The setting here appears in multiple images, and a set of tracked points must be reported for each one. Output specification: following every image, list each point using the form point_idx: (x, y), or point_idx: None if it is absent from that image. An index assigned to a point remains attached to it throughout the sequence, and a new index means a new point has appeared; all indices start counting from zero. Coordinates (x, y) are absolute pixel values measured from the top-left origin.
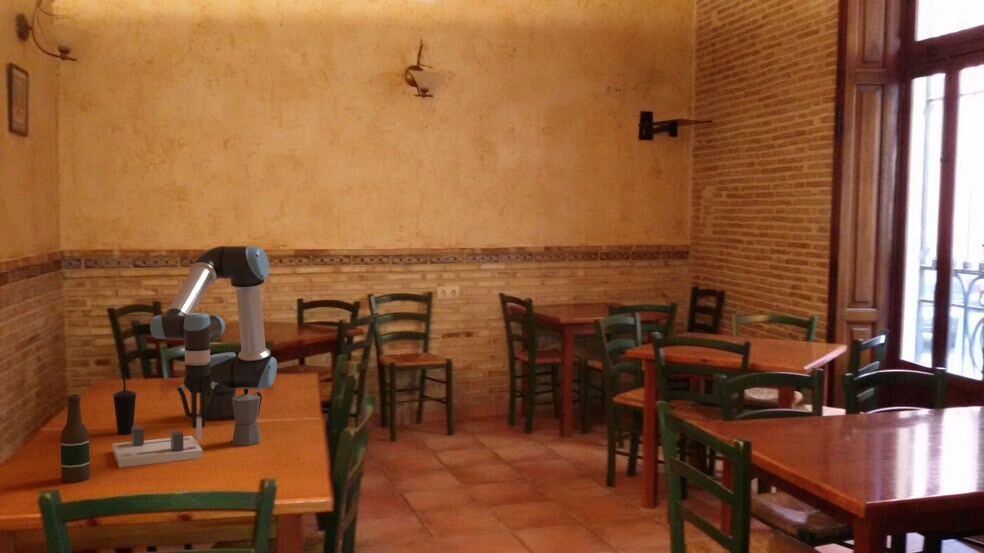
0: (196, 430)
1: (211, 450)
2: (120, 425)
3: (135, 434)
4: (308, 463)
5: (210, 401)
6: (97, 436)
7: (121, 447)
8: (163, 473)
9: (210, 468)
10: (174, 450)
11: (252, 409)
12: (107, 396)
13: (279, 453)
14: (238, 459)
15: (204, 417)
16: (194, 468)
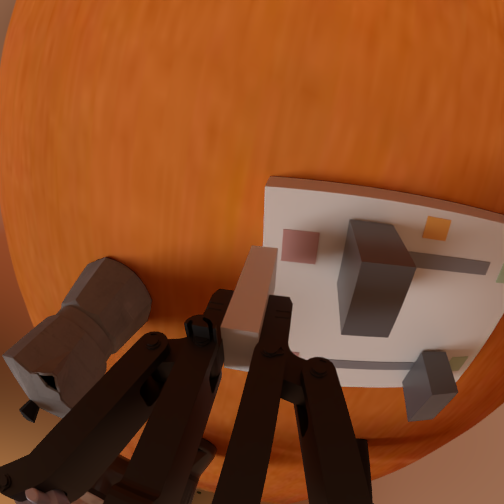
0: (271, 285)
1: (218, 267)
2: (366, 454)
3: (449, 379)
4: (22, 25)
5: (101, 415)
6: (399, 439)
7: (466, 351)
8: (455, 50)
9: (273, 8)
10: (388, 224)
11: (32, 334)
12: (298, 496)
13: (45, 135)
14: (145, 97)
15: (197, 317)
16: (337, 37)
